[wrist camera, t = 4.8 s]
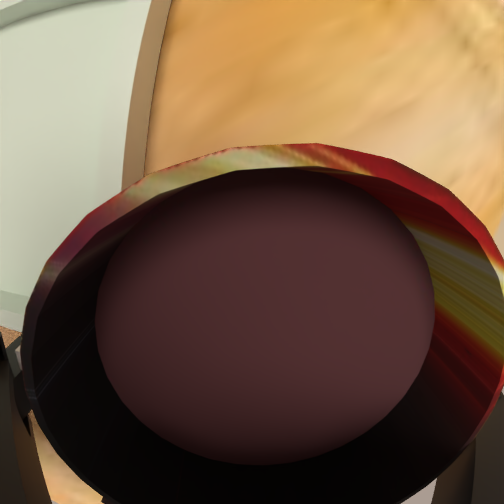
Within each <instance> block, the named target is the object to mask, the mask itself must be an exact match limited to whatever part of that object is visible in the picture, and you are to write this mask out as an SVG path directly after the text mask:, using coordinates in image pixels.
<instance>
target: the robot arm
mask: <svg viewBox="0 0 504 504" xmlns="http://www.w3.org/2000/svg"><path fill="white" fill-rule="evenodd" d="M21 336H22V334H21ZM21 336H19V337H18V338H17V339H16V340H15V341H13V342H12V343H11V344H10V345H9V346H8V347H7V348H6V349H5V345H4V342H3V338H2V334H1V332H0V504H52V502H51V499H50V495H49V492H48V489H47V486H46V483H45V479H44V476H43V472H42V468H41V464H40V460H39V456H38V452H37V448H36V443H35V438H34V433H33V428H32V423H31V420H30V417H29V415H28V413H29V412H30V410H31V409H32V408H31V405H30V402H29V400H28V397H27V394H26V391H25V387H24V380H23V373H22V366H21V357H20V344H21ZM431 504H504V395H503V393H502V391H501V393H500V396H499V398H498V400H497V402H496V404H495V407H494V409H493V411H492V412H491V414H490V415H489V417H488V419H487V420H486V422H485V423H484V425H483V427H482V428H481V430H480V431H479V433H478V434H477V436H476V437H475V438H474V440H473V441H472V442H471V443H470V444H469V446H468V447H467V448H466V449H465V450H464V451H463V453H462V454H461V455H460V456H459V457H458V458H457V459H456V460H455V461H454V462H453V464H452V465H450V466H449V467H448V468H447V469H446V470H445V471H444V472H443V473H442V474H440V475H439V476H438V477H437V481H436V486H435V490H434V494H433V498H432V503H431Z"/></svg>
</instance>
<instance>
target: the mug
mask: <svg viewBox="0 0 504 504" xmlns="http://www.w3.org/2000/svg"><path fill="white" fill-rule="evenodd" d="M20 357H21V366H22V373H23V380H24V387H25V391H26V394H27V397H28V400H29V402H30V405H31V408H32V410H33V413H34V415H35V418H36V420H37V422H38V425H39V426H40V428H41V430H42V431H43V433H44V434H45V436H46V438H47V439H48V441H49V442H50V444H51V445H52V447H53V448H54V450H55V451H56V453H57V454H58V455H59V456H60V458H61V459H62V460H63V461H64V462H65V463H66V464H67V465H68V466H69V467H70V468H71V470H72V471H73V472H74V473H75V474H76V475H77V476H78V477H79V478H80V479H81V480H82V481H84V482H85V483H86V484H87V485H89V486H90V487H91V488H92V489H94V490H95V491H96V492H98V493H99V494H100V495H101V496H103V498H102V501H101V502H102V503H104V504H401V503H402V502H404V501H405V500H407V499H408V498H410V497H411V496H413V495H414V494H416V493H417V492H419V491H420V490H422V489H423V488H425V487H426V486H427V485H429V484H430V483H431V482H432V481H433V480H435V479H436V478H437V477H438V476H439V475H440V474H442V473H443V472H444V471H445V470H446V469H447V468H448V467H449V466H450V465H452V464H453V462H454V461H455V460H456V459H457V458H458V457H459V456H460V455H461V454H462V453H463V451H464V450H465V449H466V448H467V447H468V446H469V444H470V443H471V442H472V441H473V440H474V438H475V437H476V436H477V434H478V433H479V431H480V430H481V428H482V427H483V425H484V423H485V422H486V420H487V419H488V417H489V415H490V414H491V412H492V411H493V409H494V407H495V404H496V402H497V400H498V398H499V396H500V393H501V391H502V389H503V386H504V259H503V257H502V255H501V253H500V252H499V250H498V248H497V246H496V244H495V242H494V240H493V239H492V237H491V235H490V233H489V231H488V230H487V228H486V226H485V225H484V224H483V223H482V222H481V221H480V220H479V219H478V218H477V217H476V216H475V215H474V214H473V213H472V212H471V211H470V210H469V209H468V208H467V207H466V206H465V205H464V204H463V203H462V202H461V201H460V200H459V199H458V198H457V197H456V196H455V195H454V194H453V193H452V192H451V191H450V190H449V189H447V188H445V187H443V186H442V185H440V184H438V183H436V182H435V181H433V180H431V179H429V178H427V177H426V176H424V175H422V174H420V173H418V172H416V171H414V170H412V169H411V168H409V167H407V166H405V165H403V164H401V163H399V162H397V161H395V160H393V159H389V158H385V157H381V156H376V155H372V154H368V153H363V152H359V151H354V150H349V149H345V148H340V147H335V146H329V145H324V144H319V143H309V144H281V145H263V146H248V147H235V148H229V149H225V150H222V151H218V152H215V153H212V154H208V155H205V156H202V157H199V158H195V159H192V160H189V161H186V162H183V163H180V164H177V165H174V166H171V167H168V168H165V169H162V170H159V171H156V172H154V173H151V174H149V175H147V176H145V177H144V178H142V179H140V180H139V181H137V182H136V183H134V184H132V185H131V186H129V187H128V188H126V189H124V190H123V191H121V192H120V193H118V194H117V195H115V196H114V197H112V198H111V199H109V200H108V201H106V202H105V203H103V204H102V205H100V206H99V207H97V208H96V209H94V210H93V211H91V212H90V213H88V214H87V215H86V216H85V217H84V218H83V219H82V220H81V221H80V223H79V224H78V225H77V226H76V227H75V228H74V229H73V230H72V231H71V233H70V234H69V235H68V236H67V237H66V238H65V240H64V241H63V242H62V243H61V244H60V245H59V247H58V248H57V249H56V250H55V251H54V253H53V254H52V255H51V256H50V257H49V259H48V260H47V261H46V263H45V265H44V267H43V269H42V271H41V274H40V276H39V278H38V280H37V282H36V284H35V287H34V289H33V291H32V294H31V296H30V298H29V301H28V303H27V305H26V308H25V315H24V321H23V328H22V336H21V344H20Z"/></svg>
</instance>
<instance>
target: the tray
mask: <svg viewBox="0 0 504 504" xmlns="http://www.w3.org/2000/svg"><path fill="white" fill-rule="evenodd" d="M171 1H172V0H0V326H3V327H6V328H9V329H12V330H15V331H19V332H22V328H23V321H24V315H25V308H26V305H27V303H28V301H29V298H30V296H31V294H32V291H33V289H34V287H35V284H36V282H37V280H38V278H39V276H40V274H41V271H42V269H43V267H44V265H45V263H46V261H47V260H48V259H49V257H50V256H51V255H52V254H53V253H54V251H55V250H56V249H57V248H58V247H59V245H60V244H61V243H62V242H63V241H64V240H65V238H66V237H67V236H68V235H69V234H70V233H71V231H72V230H73V229H74V228H75V227H76V226H77V225H78V224H79V223H80V221H81V220H82V219H83V218H84V217H85V216H86V215H87V214H88V213H90V212H91V211H93V210H94V209H96V208H97V207H99V206H100V205H102V204H103V203H105V202H106V201H108V200H109V199H111V198H112V197H114V196H115V195H117V194H118V193H120V192H121V191H123V190H124V189H126V188H128V187H129V186H131V185H132V184H134V183H136V182H137V181H139V180H140V179H142V178H143V176H144V164H145V153H146V143H147V134H148V126H149V118H150V110H151V103H152V96H153V90H154V83H155V77H156V71H157V66H158V60H159V55H160V50H161V45H162V40H163V35H164V31H165V26H166V22H167V17H168V13H169V9H170V5H171Z"/></svg>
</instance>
